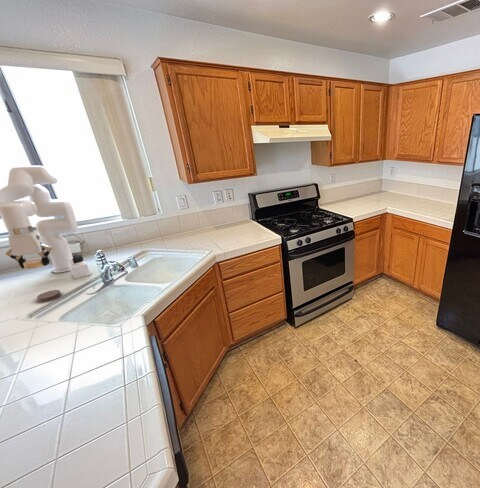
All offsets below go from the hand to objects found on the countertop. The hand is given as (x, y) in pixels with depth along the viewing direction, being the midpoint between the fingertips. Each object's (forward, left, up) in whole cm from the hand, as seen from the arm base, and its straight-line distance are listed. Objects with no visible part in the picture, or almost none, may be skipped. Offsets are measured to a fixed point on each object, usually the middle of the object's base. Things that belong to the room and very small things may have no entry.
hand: (36, 265), depth 126 cm
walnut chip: (0, 0, -18) cm, 18 cm away
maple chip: (0, 0, 0) cm, 0 cm away
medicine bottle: (-25, +4, -18) cm, 31 cm away
